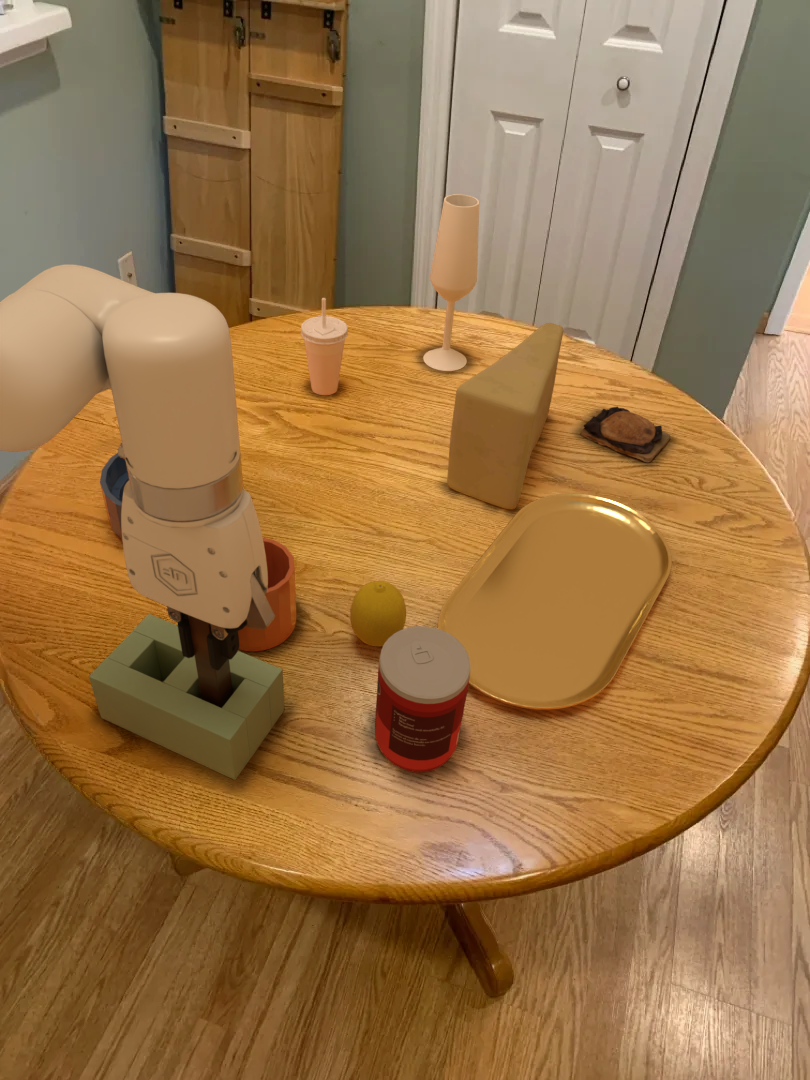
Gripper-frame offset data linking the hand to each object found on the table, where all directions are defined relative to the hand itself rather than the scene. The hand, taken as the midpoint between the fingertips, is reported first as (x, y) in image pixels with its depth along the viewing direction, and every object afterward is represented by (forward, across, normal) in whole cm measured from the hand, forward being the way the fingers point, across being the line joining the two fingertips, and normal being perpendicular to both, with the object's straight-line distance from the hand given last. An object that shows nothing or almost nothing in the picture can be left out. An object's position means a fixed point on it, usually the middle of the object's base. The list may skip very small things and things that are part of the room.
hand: (211, 650), depth 70 cm
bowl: (+11, -22, +22) cm, 33 cm away
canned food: (+11, +16, +7) cm, 21 cm away
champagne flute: (+11, -8, +72) cm, 73 cm away
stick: (+11, 0, 0) cm, 11 cm away
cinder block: (+11, -3, 0) cm, 11 cm away
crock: (+11, -4, +12) cm, 17 cm away
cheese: (+11, +10, +53) cm, 55 cm away
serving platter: (+11, +23, +31) cm, 40 cm away
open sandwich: (+11, +22, +65) cm, 69 cm away
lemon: (+11, +8, +16) cm, 21 cm away
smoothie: (+11, -19, +55) cm, 59 cm away
